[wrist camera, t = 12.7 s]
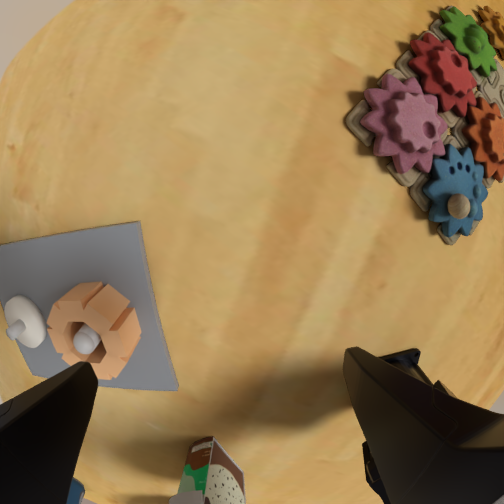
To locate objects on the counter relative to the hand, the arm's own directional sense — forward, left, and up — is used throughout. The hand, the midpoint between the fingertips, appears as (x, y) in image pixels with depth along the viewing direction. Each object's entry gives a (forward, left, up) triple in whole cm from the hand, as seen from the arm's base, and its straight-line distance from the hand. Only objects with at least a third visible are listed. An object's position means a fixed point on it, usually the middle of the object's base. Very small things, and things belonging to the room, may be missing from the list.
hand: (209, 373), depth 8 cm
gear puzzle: (-25, -15, -13) cm, 32 cm away
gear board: (+15, +4, -12) cm, 20 cm away
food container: (+6, +25, -12) cm, 28 cm away
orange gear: (+11, +4, -11) cm, 16 cm away
